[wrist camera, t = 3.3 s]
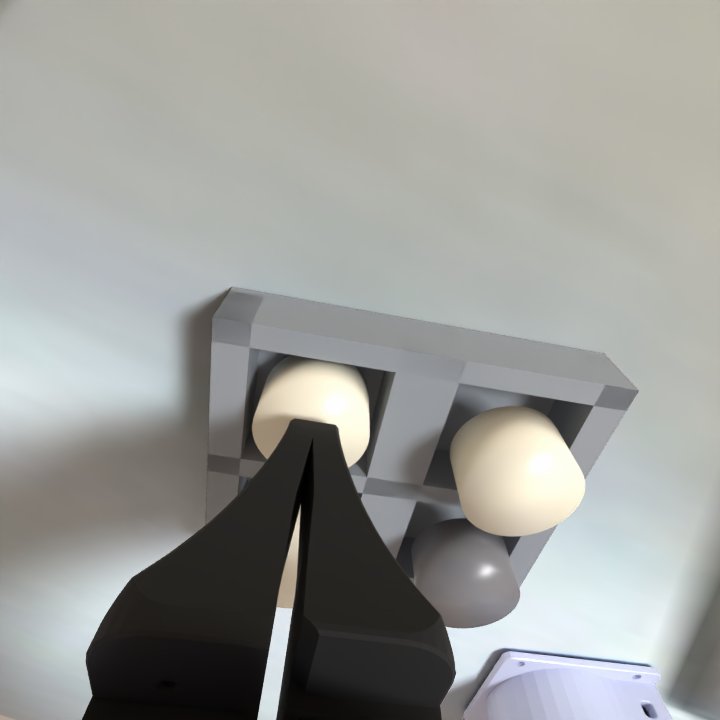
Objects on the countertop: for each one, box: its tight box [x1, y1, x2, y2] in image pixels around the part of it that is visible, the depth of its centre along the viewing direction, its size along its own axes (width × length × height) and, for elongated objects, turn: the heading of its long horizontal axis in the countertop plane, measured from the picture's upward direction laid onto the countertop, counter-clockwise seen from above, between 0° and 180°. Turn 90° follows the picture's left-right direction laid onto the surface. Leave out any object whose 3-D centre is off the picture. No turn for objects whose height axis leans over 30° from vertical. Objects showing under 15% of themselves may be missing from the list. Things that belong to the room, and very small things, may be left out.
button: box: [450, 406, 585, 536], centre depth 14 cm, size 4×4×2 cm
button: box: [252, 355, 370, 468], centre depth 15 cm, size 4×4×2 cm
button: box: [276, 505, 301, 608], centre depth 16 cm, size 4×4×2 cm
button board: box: [206, 287, 639, 587], centre depth 17 cm, size 13×11×2 cm
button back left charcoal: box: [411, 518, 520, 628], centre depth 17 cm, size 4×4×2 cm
